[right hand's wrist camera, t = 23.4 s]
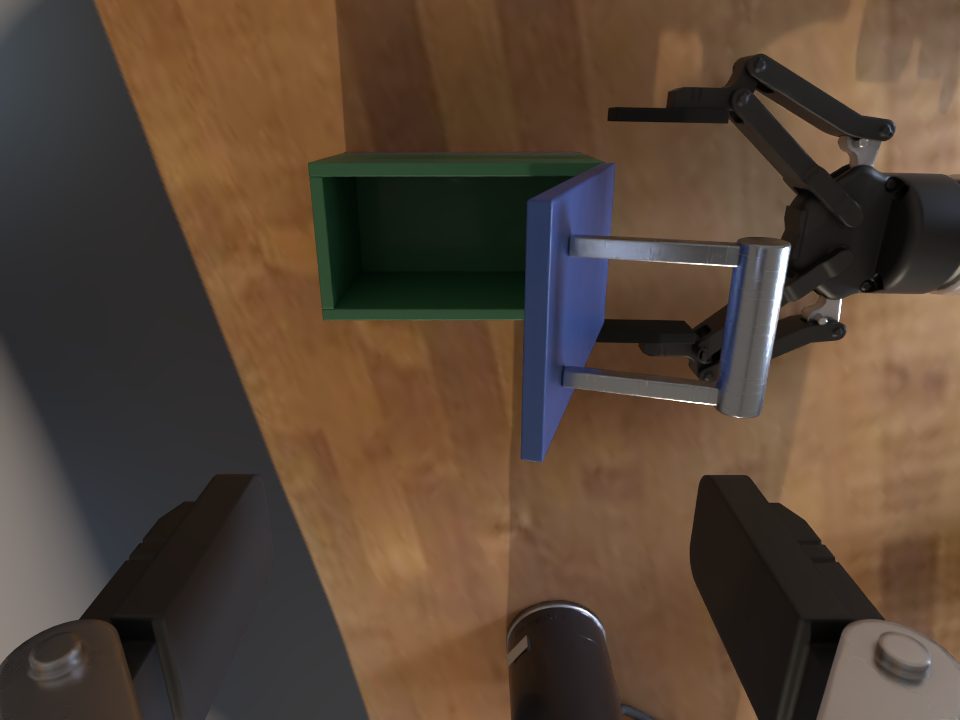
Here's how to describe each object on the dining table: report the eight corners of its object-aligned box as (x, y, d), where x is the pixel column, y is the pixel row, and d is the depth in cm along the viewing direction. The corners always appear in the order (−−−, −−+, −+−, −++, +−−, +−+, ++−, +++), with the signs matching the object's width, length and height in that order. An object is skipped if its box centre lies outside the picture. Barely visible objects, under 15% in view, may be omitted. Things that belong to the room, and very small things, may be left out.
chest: (355, 278, 48) (322, 320, 38) (345, 152, 44) (307, 162, 34) (571, 278, 48) (595, 320, 38) (578, 151, 44) (606, 162, 34)
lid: (519, 460, 22) (763, 498, 20) (526, 199, 19) (818, 210, 17) (590, 322, 37) (734, 335, 35) (600, 162, 34) (760, 165, 32)
